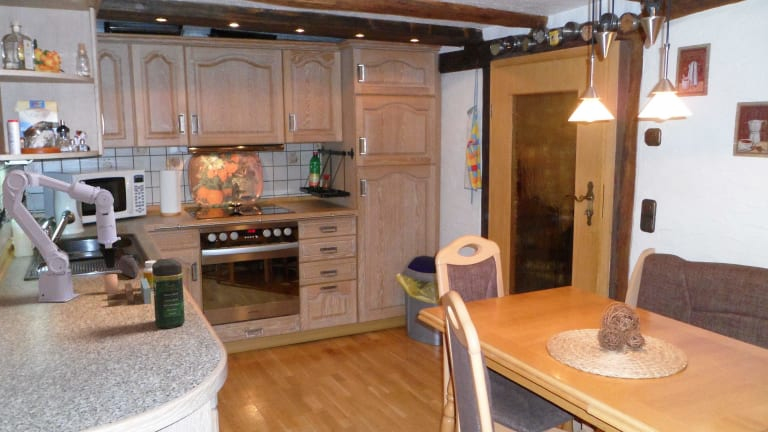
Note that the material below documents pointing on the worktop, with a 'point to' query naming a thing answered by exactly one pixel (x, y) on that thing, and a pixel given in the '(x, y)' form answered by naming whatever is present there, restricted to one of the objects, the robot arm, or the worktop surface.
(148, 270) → the supplement bottle
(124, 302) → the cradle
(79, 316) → the worktop surface
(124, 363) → the worktop surface
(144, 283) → the backstop board
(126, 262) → the perforated stone tool
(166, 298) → the coffee jar
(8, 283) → the worktop surface
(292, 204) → the worktop surface
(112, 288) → the pink egg shape
